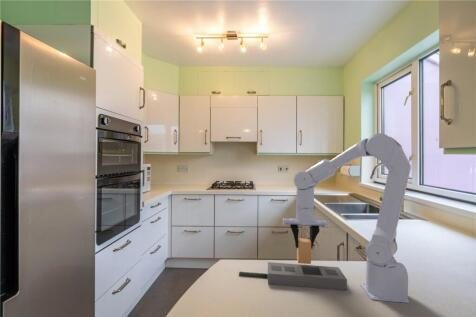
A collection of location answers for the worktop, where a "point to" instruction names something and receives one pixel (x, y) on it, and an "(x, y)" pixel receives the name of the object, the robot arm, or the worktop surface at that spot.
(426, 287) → the worktop surface
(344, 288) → the power strip
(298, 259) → the orange rectangular block
